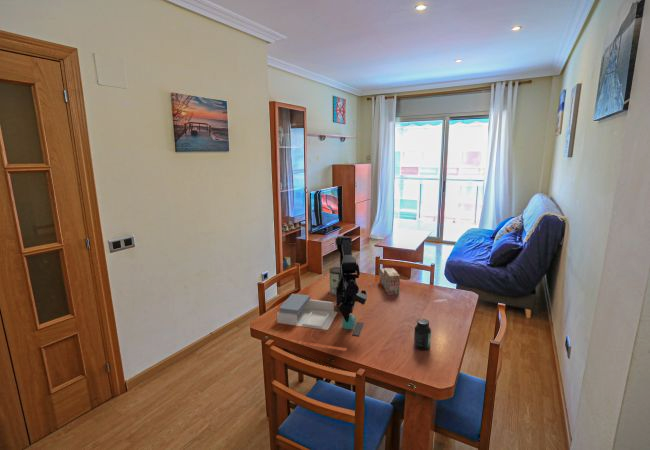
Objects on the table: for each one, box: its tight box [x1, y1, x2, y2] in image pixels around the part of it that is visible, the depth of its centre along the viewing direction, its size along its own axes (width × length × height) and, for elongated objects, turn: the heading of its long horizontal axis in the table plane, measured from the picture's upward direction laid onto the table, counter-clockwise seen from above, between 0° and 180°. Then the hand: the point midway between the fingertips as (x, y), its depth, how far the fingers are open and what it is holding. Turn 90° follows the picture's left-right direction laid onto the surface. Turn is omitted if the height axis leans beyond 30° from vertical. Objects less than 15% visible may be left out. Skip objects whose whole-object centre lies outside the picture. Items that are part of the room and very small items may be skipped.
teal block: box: [342, 314, 356, 330], centre depth 162 cm, size 5×5×5 cm
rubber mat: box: [352, 321, 364, 337], centre depth 162 cm, size 12×12×1 cm
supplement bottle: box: [413, 318, 432, 351], centre depth 145 cm, size 7×7×12 cm
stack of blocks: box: [379, 267, 401, 296], centre depth 209 cm, size 21×6×12 cm, turn 6°
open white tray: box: [276, 299, 338, 331], centre depth 171 cm, size 26×19×6 cm
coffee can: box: [328, 266, 340, 296], centre depth 204 cm, size 10×10×14 cm
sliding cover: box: [278, 293, 311, 314], centre depth 173 cm, size 10×18×2 cm, turn 164°
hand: (349, 317), depth 161 cm, fingers open, 9 cm apart
